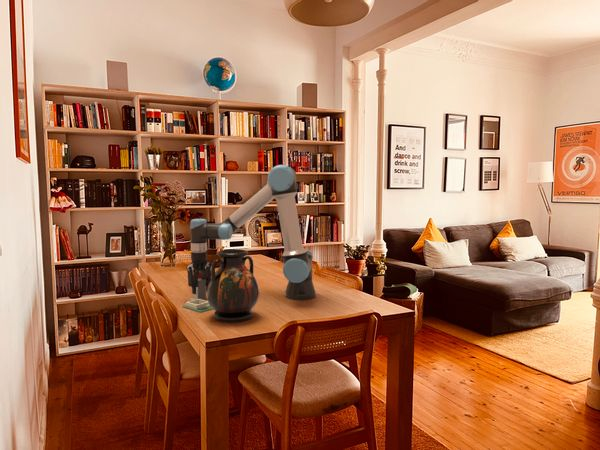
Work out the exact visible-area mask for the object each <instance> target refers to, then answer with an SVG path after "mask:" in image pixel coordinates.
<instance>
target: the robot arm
mask: <svg viewBox="0 0 600 450" xmlns="http://www.w3.org/2000/svg"><path fill="white" fill-rule="evenodd" d="M297 175H298V174H297V172H296V170H295V169H294V168H293V167H291V166H288V165H286V164H278V165H275V166H273V167H272V168H270V170H269V172H268V174H267V181H266V185H264V186H263V187H262V188H261V189H259V191H257V192H256V193H255V194H254V195H253V196H251V197H250V198H249V199H248V200H247V201H245V203H243V204H242V205H241V206H239V207H238V208H237V209H236V210H235V211H233V213H232V214H231V215H229V216H228V217H227V218H225V220H223V221H221V222H218V223H215V222H214V223H208V221H207V219H206V218H194V219H190V225H189V226H190V229H189V230H190V259H191V264H190V265H187V266H185V267H186V270H187V283H188V285H187V286H188V287H189V288H190V287H191V290H192V291H191V292H192V296H193V298H194V300H196V299H198V287H197V281H198V274H199V272H200V273H201V278H202V279H206V292H207V285H209V282H210V279H211V266H212V263H213V262H212V263H211V262H208V240H221V241H223V240H224V241H225V240H230V239H232V236H233V234H235V233H236V231H237V230H239V229H240V228H241V227H242V226H244V224H246V223H247V222H248V221H249V220H250V219H252V218H253V217H254V216H255V215H256V214H257V213H259V212H260V211H261V210H262V209H264V208H265V207H266V206H267V205H268V204H269V203H271V202H272V201H273V200H274V199H275V201H276V207H277V213H278V219H279V225H280V230H281V231H280V232H281V235H282V241H283V247H284V249H283V253H282V254H281V255H282V262H283V267H282V272H283V275H284V278H285V279H286V280H287V281H288V282H287V285H286V289H285V293H284V296H285V297H286V298H287V299H292V300H311V299H313V298H315V297H316V296H317V294H316V293H317V291H316V289H315V286H314V282H313V257H314V256H313V252H312V251H311V250H309V249H306V248H304V245H303V240H302V234H301V228H300V221H299V214H298V210H297V201H296V198H295V197H296V196H297V194H298V190H297V188H298V187H297V182H298V181H297V180H298V176H297ZM205 267H206V269H205Z"/></svg>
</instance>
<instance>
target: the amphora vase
mask: <svg viewBox="0 0 600 450" xmlns="http://www.w3.org/2000/svg"><path fill="white" fill-rule="evenodd" d="M216 255H217V256H218V257H220V258H221V259H220V258H219V259H218V258H217V259H214V260H213V261H212V266H211V279H210V282H209V285H208V289H207V291H206V300H207V301H208V302H209V304H210V306H211V307H212V308H213V309H212V310H213V311H215V312H213V317H214V320H216V321H220V322H223V323H239V322H240V323H242V322H244V321H248V320H249V319H251V318H252V317H253V315H254V311H253V308H255V306H256V305H257V303H258V300H259V298H260V290H259V283H258V281H257V278H256V277H255V275H254V260H253V258H252V256H250V255H249V252H248V250H246V249H237V248H235V249H234V248H233V249H224V250H219V251H218V252H217V251H216ZM247 260H248V263H249V268H248V267H247V266H246V265H245V263H246V261H247ZM218 263H219V264H220V266H219V268H217V270H216V266H217V264H218Z"/></svg>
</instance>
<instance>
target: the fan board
mask: <svg viewBox="0 0 600 450" xmlns="http://www.w3.org/2000/svg"><path fill="white" fill-rule="evenodd" d="M184 304H185V305H182V308H184V309H187V310H191V311H194V312H197V313H200V314H201V313H204V312H208V311H212V310H214V309H213V308H212V307H211V306H210V304H209V302H208V300H202V299H196V300H194V297H191V298H189V301H185V302H184Z"/></svg>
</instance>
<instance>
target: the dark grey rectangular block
mask: <svg viewBox="0 0 600 450" xmlns="http://www.w3.org/2000/svg"><path fill="white" fill-rule="evenodd" d="M197 287H198V299H202V300H205V301H207V291H206V279H201V278H200V279H198V281H197Z"/></svg>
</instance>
